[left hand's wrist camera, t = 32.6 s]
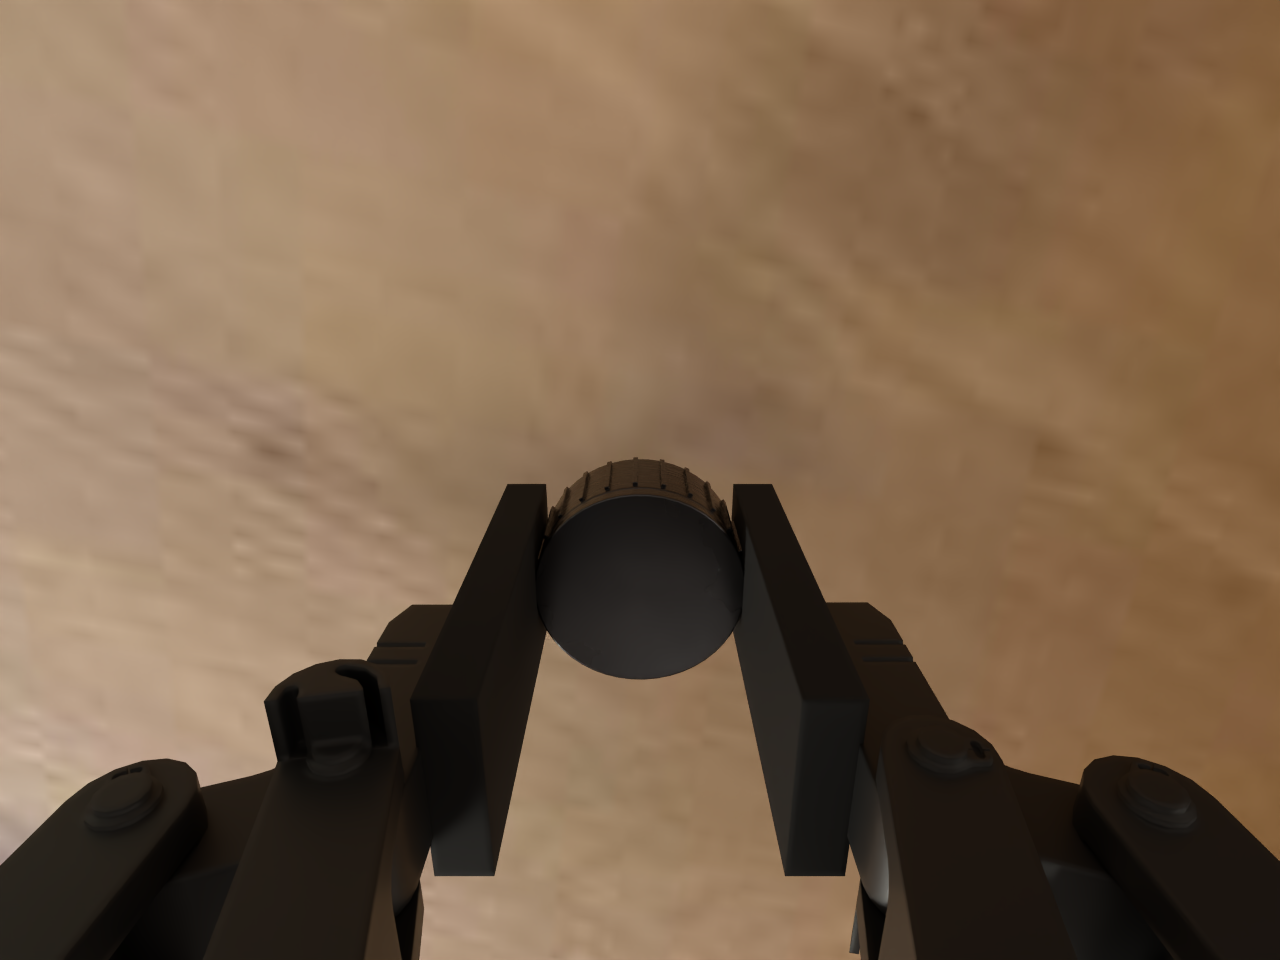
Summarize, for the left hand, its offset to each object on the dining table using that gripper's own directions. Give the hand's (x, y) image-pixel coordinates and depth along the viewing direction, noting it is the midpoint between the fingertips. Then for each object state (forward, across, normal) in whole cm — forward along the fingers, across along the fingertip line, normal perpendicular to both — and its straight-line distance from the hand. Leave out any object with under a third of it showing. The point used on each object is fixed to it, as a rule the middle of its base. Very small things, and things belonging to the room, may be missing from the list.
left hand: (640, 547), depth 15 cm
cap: (-2, 0, 0) cm, 2 cm away
